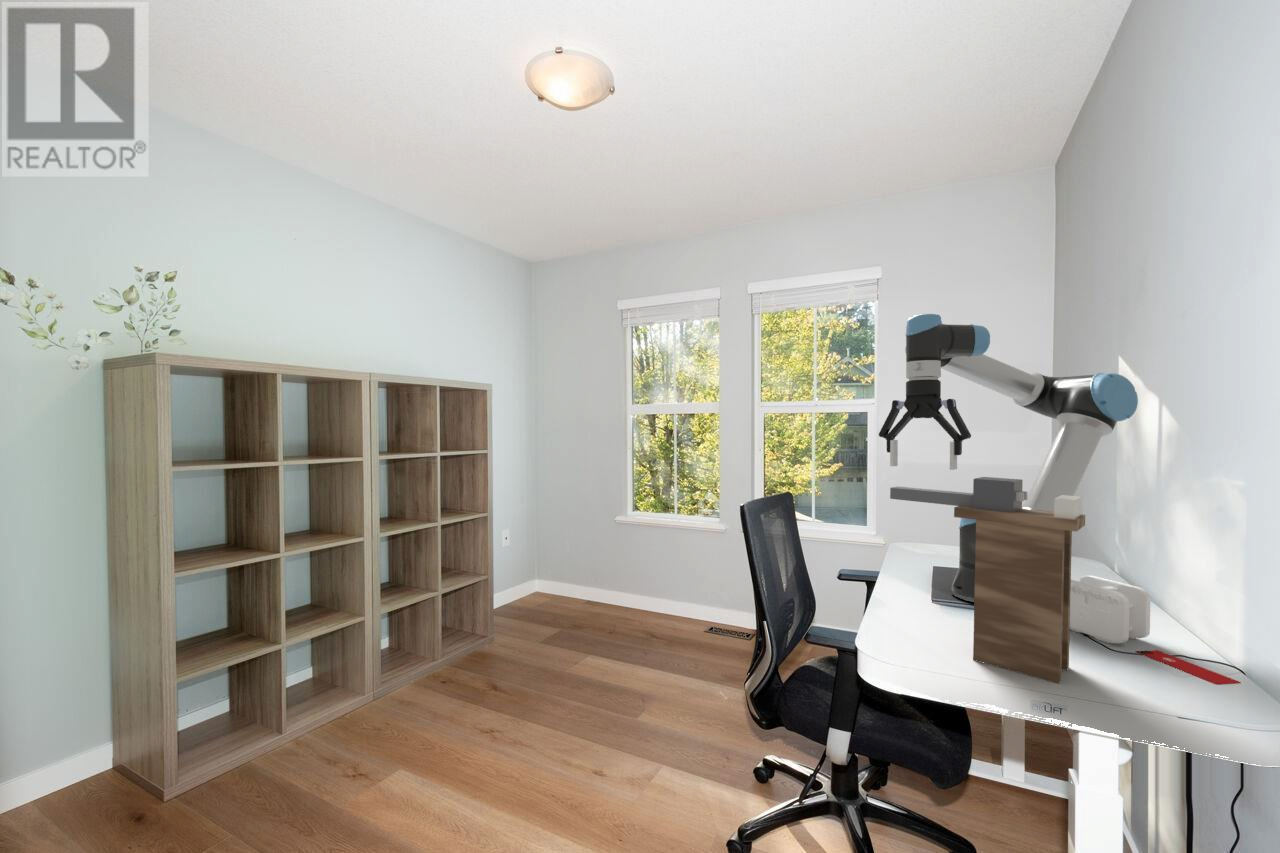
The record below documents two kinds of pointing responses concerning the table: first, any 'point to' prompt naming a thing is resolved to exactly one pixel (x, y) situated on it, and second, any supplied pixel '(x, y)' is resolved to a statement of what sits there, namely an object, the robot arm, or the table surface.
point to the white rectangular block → (1067, 507)
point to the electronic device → (1188, 667)
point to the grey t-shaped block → (971, 495)
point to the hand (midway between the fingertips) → (922, 467)
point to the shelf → (1022, 589)
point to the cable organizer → (1109, 609)
